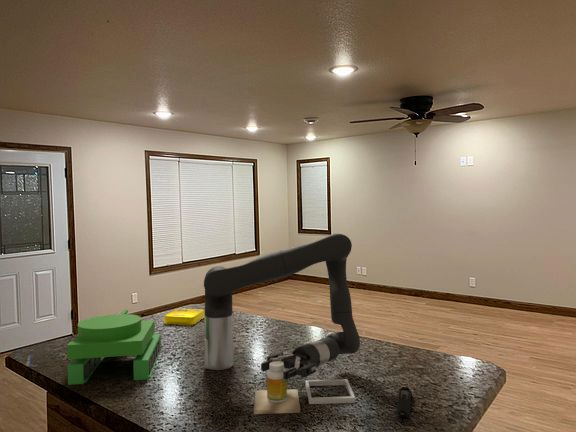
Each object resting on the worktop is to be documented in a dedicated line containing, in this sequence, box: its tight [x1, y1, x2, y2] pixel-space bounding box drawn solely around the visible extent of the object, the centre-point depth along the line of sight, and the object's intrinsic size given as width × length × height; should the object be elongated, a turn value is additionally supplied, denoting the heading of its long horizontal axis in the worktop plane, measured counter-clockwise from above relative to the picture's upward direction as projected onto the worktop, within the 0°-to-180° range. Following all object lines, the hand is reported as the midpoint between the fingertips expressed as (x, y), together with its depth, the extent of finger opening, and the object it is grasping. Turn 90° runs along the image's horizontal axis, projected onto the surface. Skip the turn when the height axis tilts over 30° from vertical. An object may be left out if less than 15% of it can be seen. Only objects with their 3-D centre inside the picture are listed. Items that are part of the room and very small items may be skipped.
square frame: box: [304, 378, 356, 405], centre depth 124 cm, size 13×13×1 cm
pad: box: [253, 388, 301, 415], centre depth 118 cm, size 12×12×1 cm
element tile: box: [163, 307, 205, 326], centre depth 205 cm, size 15×15×5 cm
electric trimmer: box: [396, 386, 413, 418], centre depth 116 cm, size 4×16×3 cm, turn 162°
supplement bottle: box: [266, 361, 288, 403], centre depth 119 cm, size 5×5×10 cm
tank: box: [66, 309, 162, 386], centre depth 151 cm, size 24×35×16 cm
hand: (272, 371), depth 117 cm, fingers open, 8 cm apart
